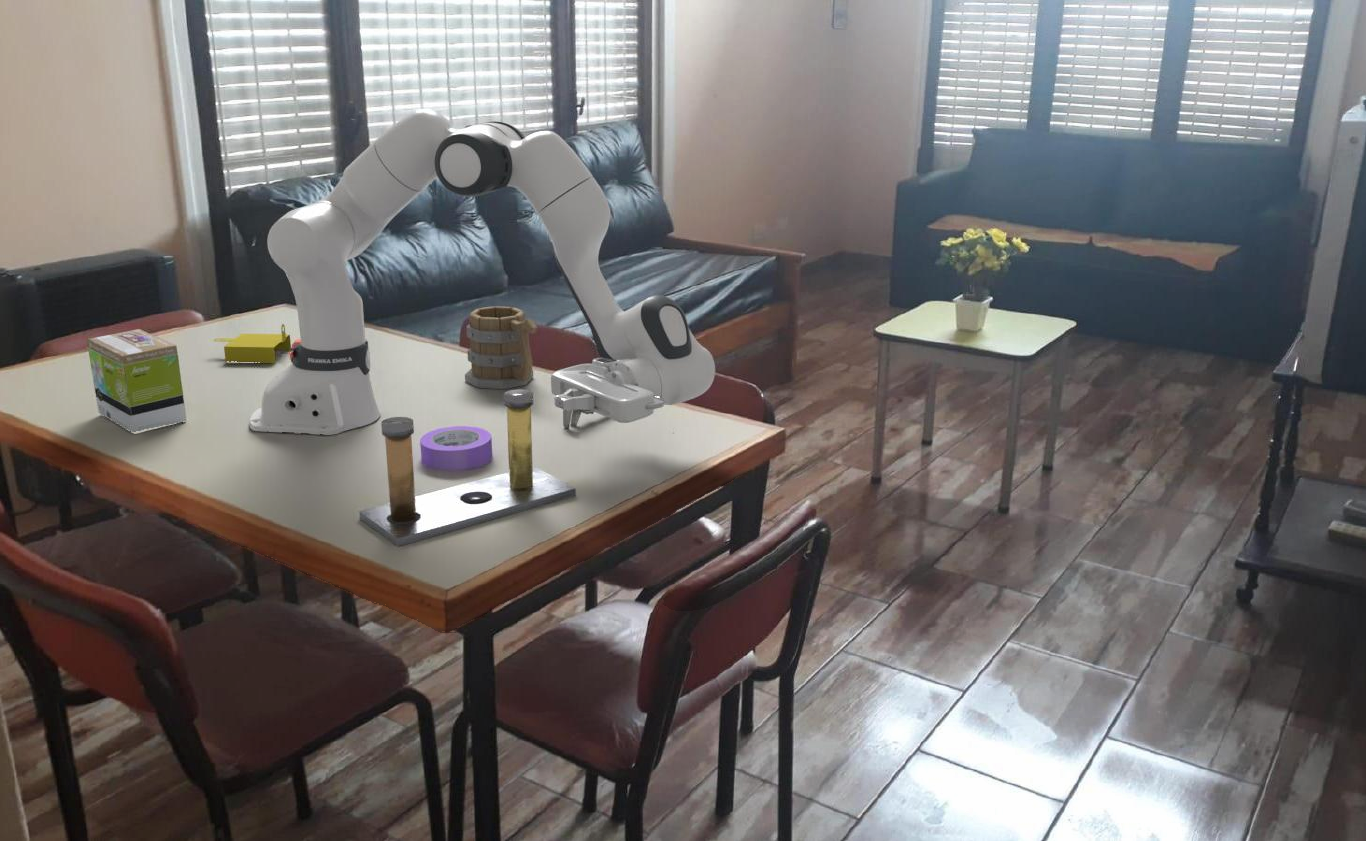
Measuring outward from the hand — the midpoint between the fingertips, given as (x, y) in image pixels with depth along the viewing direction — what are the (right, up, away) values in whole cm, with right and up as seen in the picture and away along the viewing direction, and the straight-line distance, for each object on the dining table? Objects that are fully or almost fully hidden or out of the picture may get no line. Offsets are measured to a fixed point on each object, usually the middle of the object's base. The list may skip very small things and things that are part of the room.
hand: (559, 403), depth 186 cm
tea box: (-78, -3, +30) cm, 84 cm away
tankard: (-16, +4, +53) cm, 55 cm away
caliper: (+5, -2, +36) cm, 36 cm away
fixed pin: (-21, -17, -12) cm, 30 cm away
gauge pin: (-6, -12, 0) cm, 14 cm away
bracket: (-73, +10, +69) cm, 101 cm away
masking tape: (-19, -9, +14) cm, 25 cm away
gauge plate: (-13, -16, -5) cm, 21 cm away
